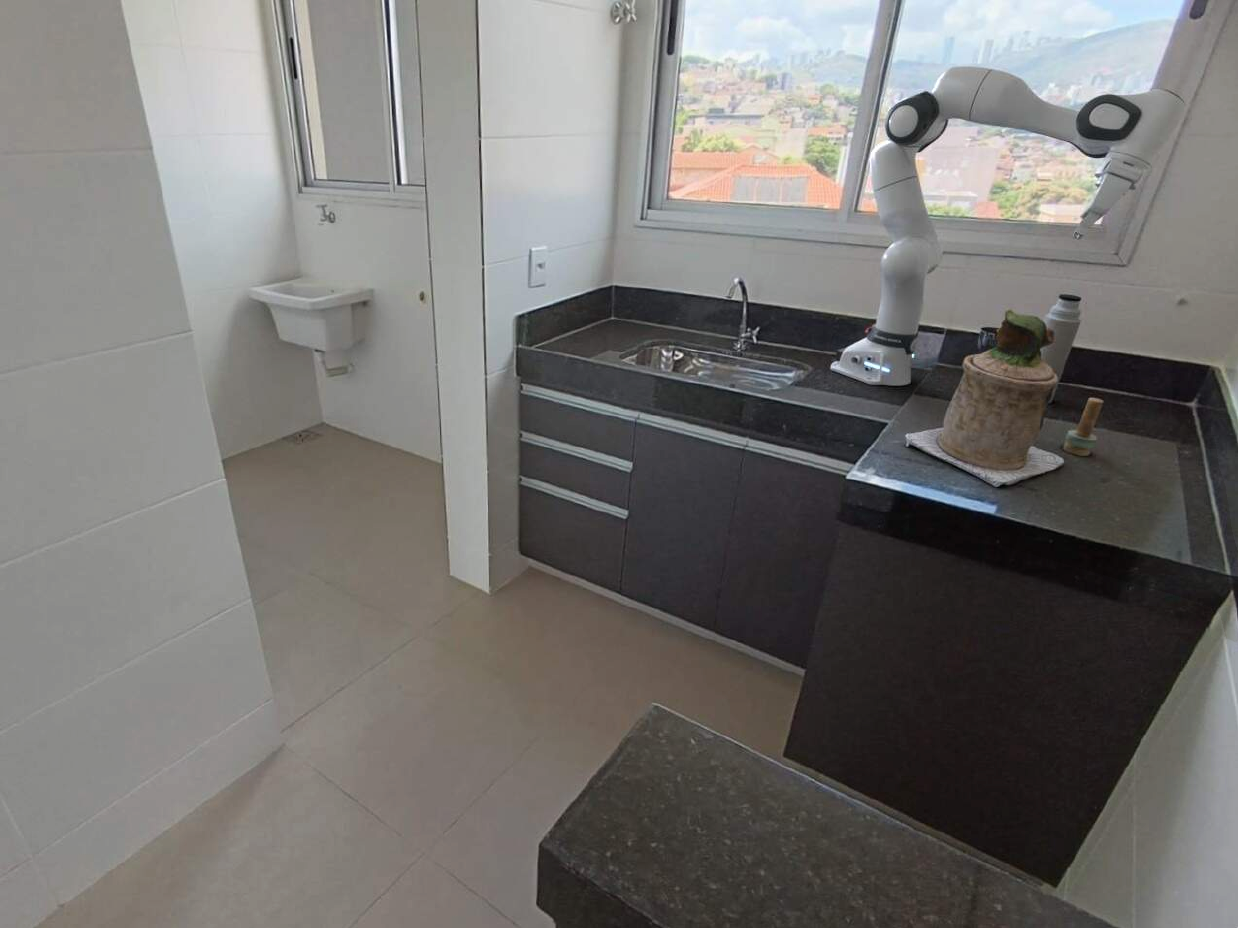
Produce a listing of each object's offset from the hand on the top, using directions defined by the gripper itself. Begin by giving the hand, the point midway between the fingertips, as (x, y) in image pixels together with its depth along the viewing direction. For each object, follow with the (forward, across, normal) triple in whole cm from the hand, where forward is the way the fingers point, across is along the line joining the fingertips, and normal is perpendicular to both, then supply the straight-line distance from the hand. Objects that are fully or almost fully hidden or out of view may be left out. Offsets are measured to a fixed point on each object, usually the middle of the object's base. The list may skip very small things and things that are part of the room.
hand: (1078, 236), depth 151 cm
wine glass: (+40, -34, +1) cm, 52 cm away
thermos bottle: (+37, -28, +15) cm, 49 cm away
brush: (+41, +6, +25) cm, 48 cm away
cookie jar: (+49, +22, +8) cm, 54 cm away
